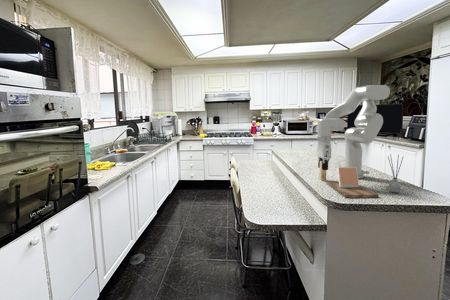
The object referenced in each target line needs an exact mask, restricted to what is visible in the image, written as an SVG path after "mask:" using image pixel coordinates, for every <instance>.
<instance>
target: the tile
mask: <svg viewBox="0 0 450 300" xmlns="http://www.w3.org/2000/svg"><path fill="white" fill-rule="evenodd" d="M336 169H337V175H338V177H337V178H338V182H339V186H340V188H357V187H359V185H360V181H359V178H358V174H357V167H345V166H339V167H336Z"/></svg>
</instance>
